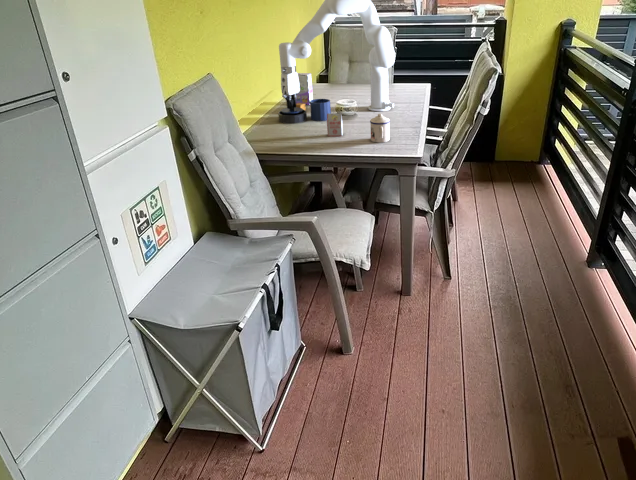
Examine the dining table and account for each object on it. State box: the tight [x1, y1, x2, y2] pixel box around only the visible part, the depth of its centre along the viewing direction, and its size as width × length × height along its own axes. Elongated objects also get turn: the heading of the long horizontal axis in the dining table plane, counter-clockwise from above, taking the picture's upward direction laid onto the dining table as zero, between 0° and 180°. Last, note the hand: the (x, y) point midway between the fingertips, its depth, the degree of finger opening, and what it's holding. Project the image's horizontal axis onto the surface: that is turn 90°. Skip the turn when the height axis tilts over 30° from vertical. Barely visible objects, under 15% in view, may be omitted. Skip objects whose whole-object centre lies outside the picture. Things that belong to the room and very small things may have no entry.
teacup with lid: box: [369, 113, 391, 144], centre depth 241 cm, size 12×9×12 cm
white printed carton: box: [326, 113, 344, 137], centre depth 251 cm, size 4×7×10 cm, turn 84°
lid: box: [280, 99, 303, 114], centre depth 276 cm, size 11×11×6 cm
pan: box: [277, 109, 308, 124], centre depth 279 cm, size 15×15×4 cm
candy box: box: [288, 72, 314, 106], centre depth 306 cm, size 14×6×16 cm, turn 71°
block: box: [296, 103, 307, 111], centre depth 292 cm, size 4×4×4 cm
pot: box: [309, 98, 332, 122], centre depth 279 cm, size 10×10×9 cm
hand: (291, 107), depth 277 cm, fingers closed on lid, 2 cm apart
